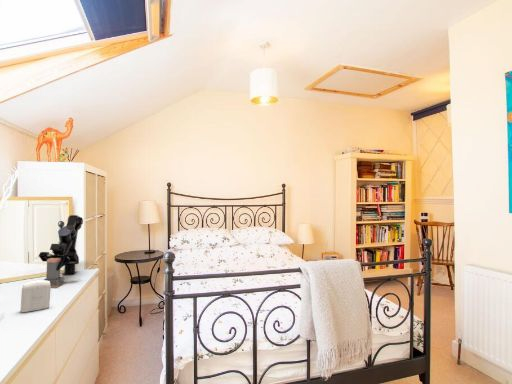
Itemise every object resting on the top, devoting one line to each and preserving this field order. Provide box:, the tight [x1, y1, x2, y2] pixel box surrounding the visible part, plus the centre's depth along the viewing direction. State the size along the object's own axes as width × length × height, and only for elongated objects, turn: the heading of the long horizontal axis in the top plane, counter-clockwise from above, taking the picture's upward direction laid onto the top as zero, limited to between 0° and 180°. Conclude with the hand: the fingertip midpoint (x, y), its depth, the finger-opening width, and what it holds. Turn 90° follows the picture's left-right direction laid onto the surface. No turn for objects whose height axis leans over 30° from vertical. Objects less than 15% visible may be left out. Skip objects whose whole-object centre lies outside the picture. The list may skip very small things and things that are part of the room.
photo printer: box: [19, 279, 52, 313], centre depth 132 cm, size 10×4×12 cm, turn 134°
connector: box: [45, 258, 61, 280], centre depth 167 cm, size 5×5×12 cm
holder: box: [43, 276, 67, 289], centre depth 167 cm, size 9×9×4 cm
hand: (52, 270), depth 165 cm, fingers closed on connector, 5 cm apart
